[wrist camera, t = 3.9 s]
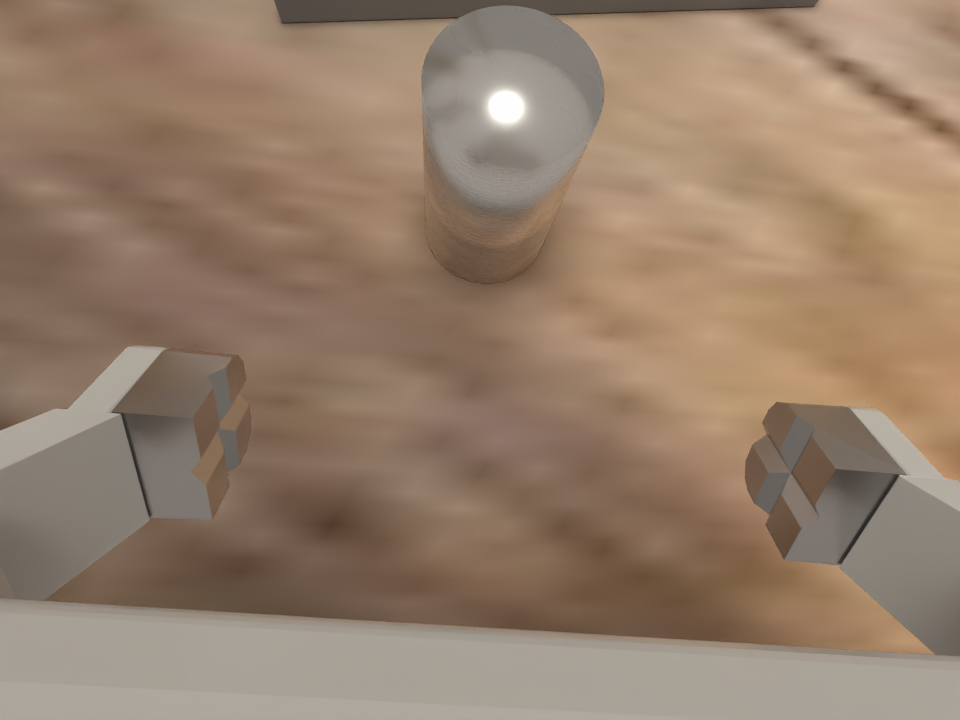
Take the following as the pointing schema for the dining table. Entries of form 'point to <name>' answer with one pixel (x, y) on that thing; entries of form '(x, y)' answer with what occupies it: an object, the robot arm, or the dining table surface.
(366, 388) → the dining table surface
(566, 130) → the metal pin
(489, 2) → the socket housing
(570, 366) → the dining table surface
